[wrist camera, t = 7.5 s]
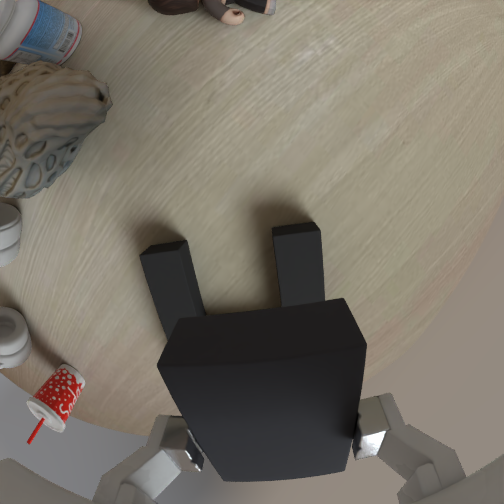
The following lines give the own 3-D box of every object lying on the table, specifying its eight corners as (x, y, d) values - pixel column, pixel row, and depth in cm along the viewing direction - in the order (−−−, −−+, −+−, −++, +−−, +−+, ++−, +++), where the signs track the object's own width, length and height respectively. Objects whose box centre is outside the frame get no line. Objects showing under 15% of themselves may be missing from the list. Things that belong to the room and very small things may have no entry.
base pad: (150, 245, 23) (138, 255, 21) (314, 221, 22) (320, 229, 19) (190, 367, 28) (185, 383, 25) (321, 355, 26) (325, 372, 24)
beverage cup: (88, 396, 32) (51, 463, 18) (56, 375, 31) (14, 436, 18) (90, 375, 30) (45, 450, 17) (56, 352, 29) (4, 419, 16)
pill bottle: (74, 11, 15) (9, -22, 4) (91, 37, 16) (15, 2, 6) (37, 51, 16) (-34, 35, 5) (50, 81, 17) (-31, 69, 7)
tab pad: (178, 317, 9) (154, 365, 7) (344, 296, 8) (368, 343, 6) (228, 442, 11) (223, 481, 9) (337, 431, 11) (345, 471, 9)
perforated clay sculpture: (158, 54, 17) (43, -28, 3) (148, 186, 21) (6, 244, 7) (5, 99, 18) (-90, 103, 3) (2, 192, 21) (-92, 229, 7)
